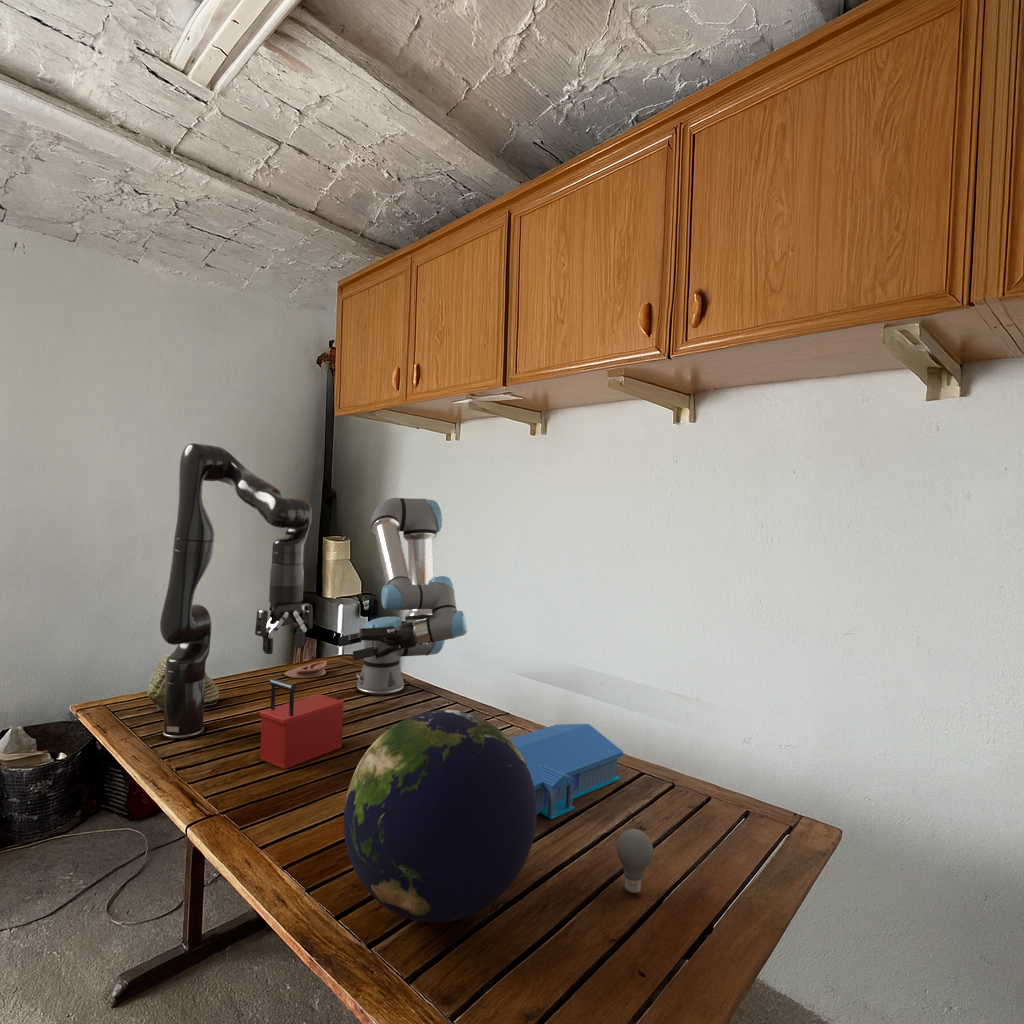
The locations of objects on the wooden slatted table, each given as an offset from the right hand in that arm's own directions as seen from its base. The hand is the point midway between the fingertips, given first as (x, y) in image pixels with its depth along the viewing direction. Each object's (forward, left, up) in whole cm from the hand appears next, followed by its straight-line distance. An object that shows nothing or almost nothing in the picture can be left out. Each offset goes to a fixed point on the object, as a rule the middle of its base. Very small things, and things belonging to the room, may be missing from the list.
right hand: (346, 649), depth 190 cm
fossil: (+12, -44, -18) cm, 49 cm away
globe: (+84, +52, -18) cm, 100 cm away
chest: (+34, +4, -18) cm, 39 cm away
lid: (+35, +4, -7) cm, 36 cm away
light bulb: (+73, +83, -18) cm, 112 cm away
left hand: (+40, +1, +9) cm, 41 cm away
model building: (+40, +62, -18) cm, 76 cm away
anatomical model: (-29, -27, -18) cm, 43 cm away
